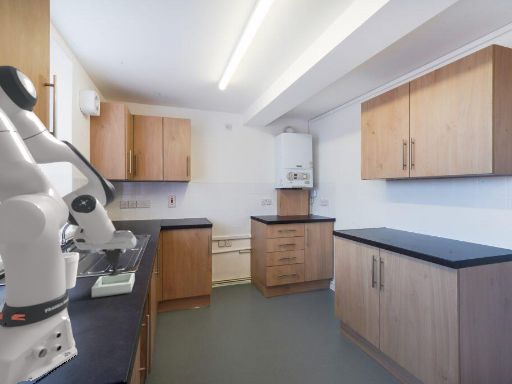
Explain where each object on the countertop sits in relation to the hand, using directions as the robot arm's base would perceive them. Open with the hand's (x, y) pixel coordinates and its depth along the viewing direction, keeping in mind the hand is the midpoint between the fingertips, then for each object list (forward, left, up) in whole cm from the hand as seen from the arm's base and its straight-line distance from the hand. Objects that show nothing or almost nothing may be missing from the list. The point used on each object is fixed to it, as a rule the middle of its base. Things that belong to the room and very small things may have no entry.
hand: (113, 251), depth 104 cm
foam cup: (0, +20, -15) cm, 25 cm away
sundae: (0, -1, -9) cm, 9 cm away
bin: (0, -1, -15) cm, 15 cm away
